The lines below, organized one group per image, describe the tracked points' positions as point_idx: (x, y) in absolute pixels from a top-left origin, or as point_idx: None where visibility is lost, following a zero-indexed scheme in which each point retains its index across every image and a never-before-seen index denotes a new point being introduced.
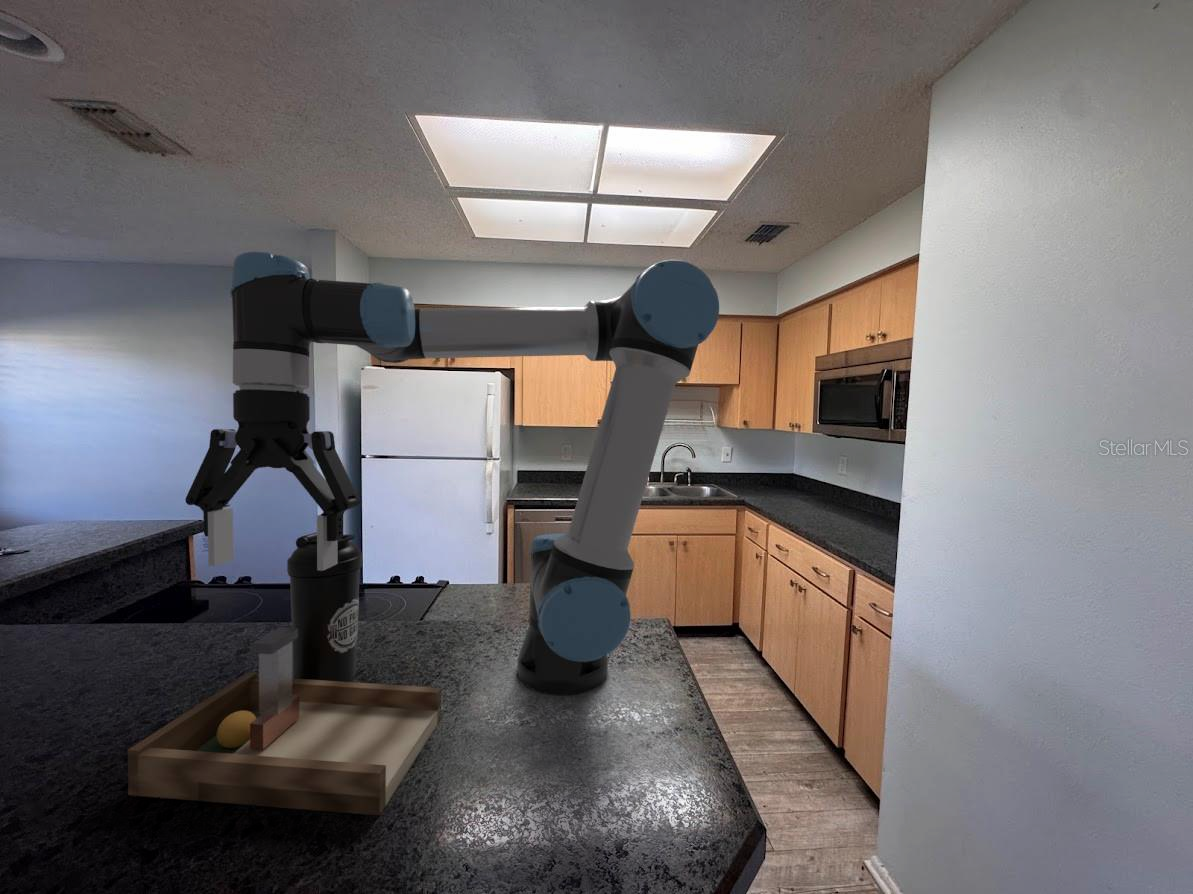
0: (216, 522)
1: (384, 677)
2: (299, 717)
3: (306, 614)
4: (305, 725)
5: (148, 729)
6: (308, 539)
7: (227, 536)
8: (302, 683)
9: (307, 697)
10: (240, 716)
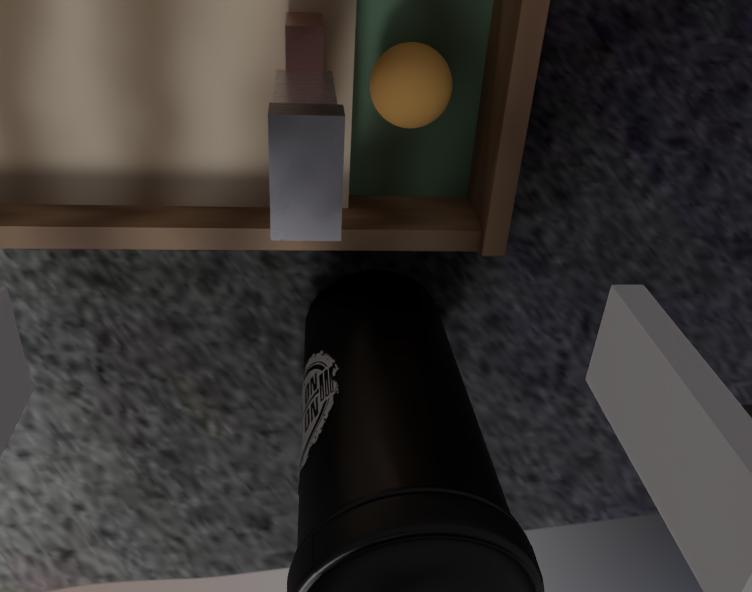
0: (728, 468)
1: (231, 348)
2: None
3: (400, 401)
4: (255, 118)
5: (654, 118)
6: None
7: (650, 446)
8: None
9: None
10: (401, 88)
